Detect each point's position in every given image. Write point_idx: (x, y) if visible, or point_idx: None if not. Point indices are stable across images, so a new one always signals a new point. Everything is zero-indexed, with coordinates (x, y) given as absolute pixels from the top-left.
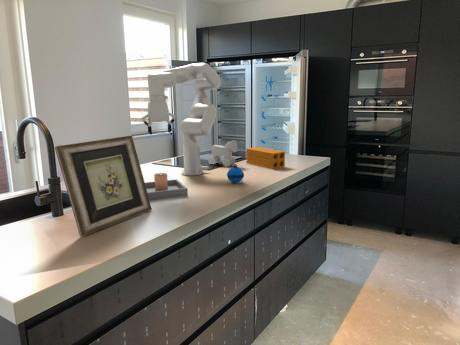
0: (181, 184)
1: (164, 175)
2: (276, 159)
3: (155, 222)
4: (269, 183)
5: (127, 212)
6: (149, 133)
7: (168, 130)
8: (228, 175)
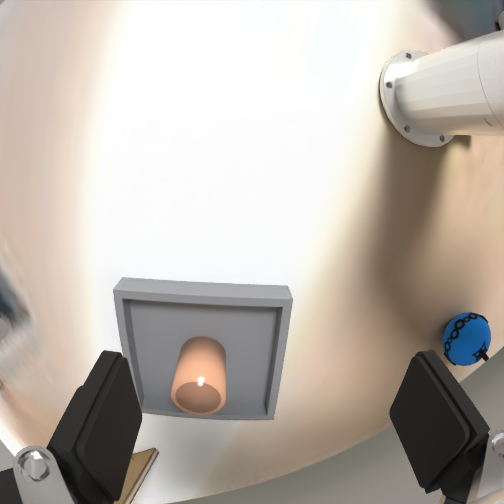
0: (275, 379)
1: (209, 413)
2: None
3: (163, 482)
4: (489, 354)
5: None
6: (105, 356)
7: (412, 396)
8: (448, 346)
